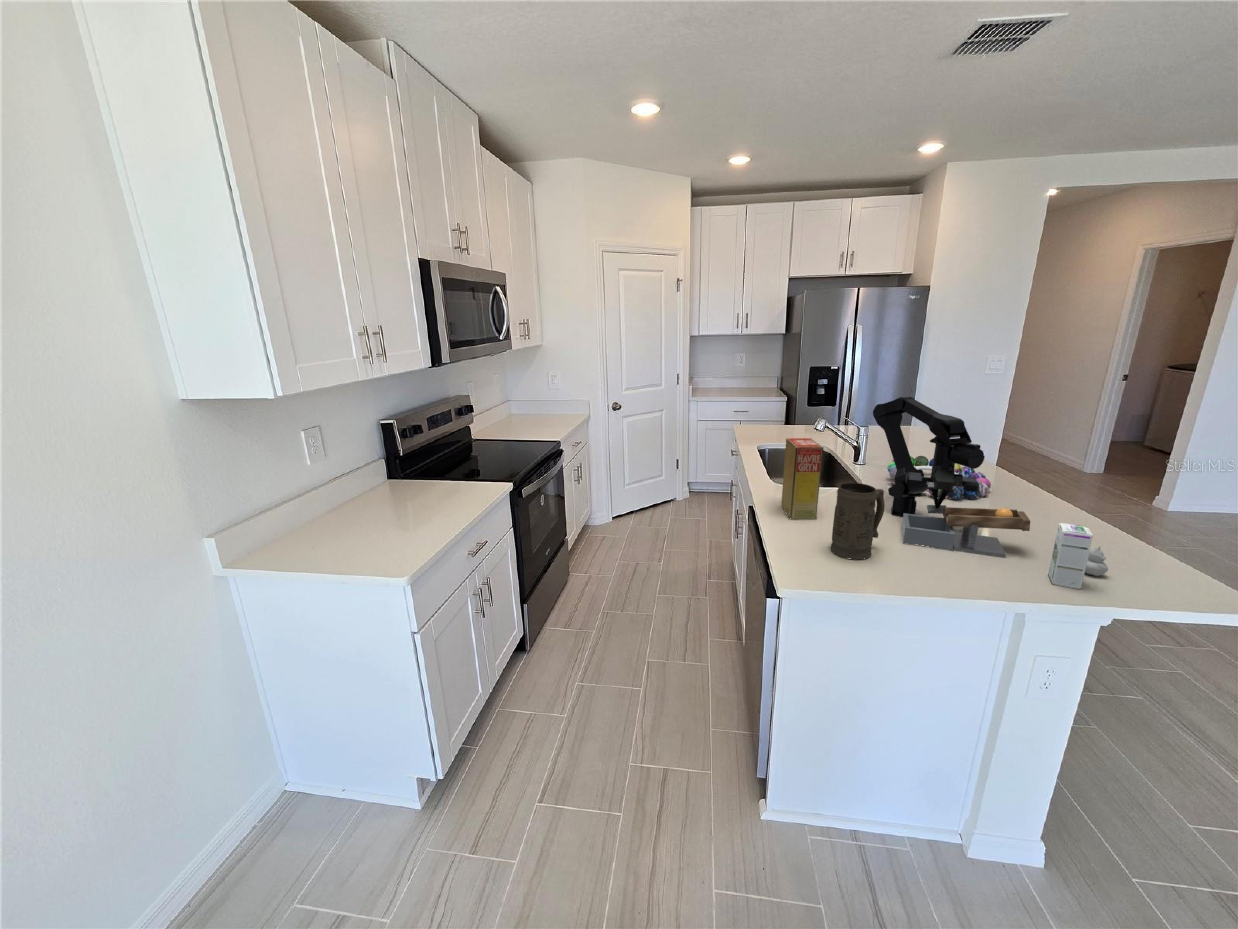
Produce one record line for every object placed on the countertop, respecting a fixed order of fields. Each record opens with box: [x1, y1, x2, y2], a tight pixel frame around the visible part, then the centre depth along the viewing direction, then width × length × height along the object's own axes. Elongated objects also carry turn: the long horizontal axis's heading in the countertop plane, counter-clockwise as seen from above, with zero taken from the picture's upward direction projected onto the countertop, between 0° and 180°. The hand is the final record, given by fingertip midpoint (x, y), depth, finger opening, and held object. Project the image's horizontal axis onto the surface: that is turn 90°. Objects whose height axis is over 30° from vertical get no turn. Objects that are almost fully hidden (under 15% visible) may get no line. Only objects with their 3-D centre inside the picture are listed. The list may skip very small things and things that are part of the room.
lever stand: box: [953, 524, 1007, 559], centre depth 145 cm, size 12×12×8 cm
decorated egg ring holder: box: [886, 455, 992, 501], centre depth 195 cm, size 35×35×9 cm
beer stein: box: [830, 482, 885, 560], centre depth 143 cm, size 15×11×20 cm
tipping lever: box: [926, 504, 1031, 532], centre depth 148 cm, size 23×16×4 cm
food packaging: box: [780, 437, 824, 520], centre depth 171 cm, size 13×9×25 cm
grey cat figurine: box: [1085, 545, 1109, 577], centre depth 128 cm, size 5×7×8 cm
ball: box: [995, 507, 1013, 517], centre depth 141 cm, size 4×4×4 cm
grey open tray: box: [900, 513, 956, 551], centre depth 151 cm, size 12×12×5 cm
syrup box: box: [1047, 522, 1094, 590], centre depth 124 cm, size 6×6×14 cm
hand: (936, 507), depth 157 cm, fingers closed, pressing on tipping lever
